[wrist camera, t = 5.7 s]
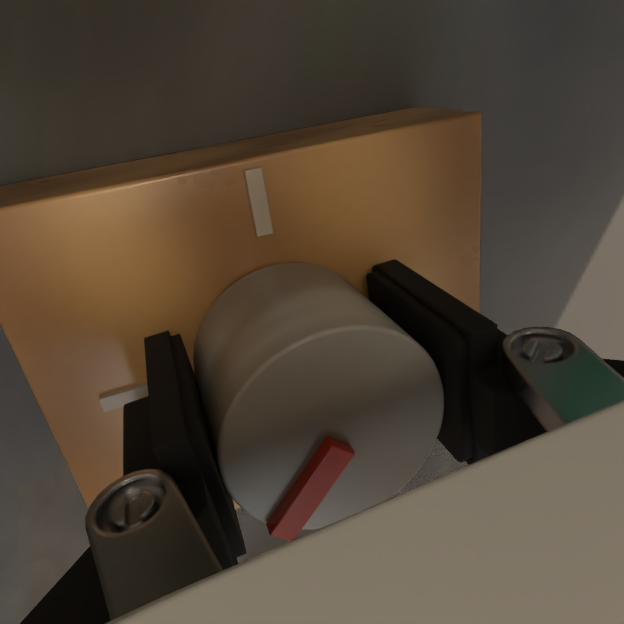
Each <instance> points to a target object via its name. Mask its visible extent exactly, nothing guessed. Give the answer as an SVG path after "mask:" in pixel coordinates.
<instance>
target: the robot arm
mask: <svg viewBox="0 0 624 624" xmlns="http://www.w3.org/2000/svg"><path fill="white" fill-rule="evenodd" d="M366 281H367V288H368V295H369V300H370V301H371V302H372V303H373V304H374V305H376V306H377V307H378V308H379V309H380V310H381V311H382V312H383V313H385V314H386V315H387V316H388V317H389V318H390V319H391V320H393V321H394V322H395V323H396V324H397V325H398V326H399V327H401V328H402V329H403V330H404V331H405V332H406V333H407V334H408V335H410V336H411V337H412V338H413V339H414V340H415V341H416V342H418V343H419V344H420V345H421V346H422V347H423V348H424V349H425V350H426V351H427V352H428V354H429V355H430V357H431V358H432V359H433V361H434V363H435V365H436V367H437V369H438V371H439V374H440V377H441V380H442V384H443V390H444V414H443V420H442V424H441V428H440V432H439V434H438V437H437V438H438V440H439V441H440V442H441V443H442V444H443V445H444V446H445V447H446V449H447V450H448V451H449V452H450V453H451V454H452V455H453V457H454V458H455V459H456V460H457V461H459V462H463V461H466V462H467V463H468V464H469V465H467V466H465V467H463V468H460V469H458V470H456V471H453V472H451V473H448V474H446V475H444V476H441V477H439V478H437V479H434V480H432V481H430V482H427V483H425V484H423V485H420V486H418V487H416V488H413V489H411V490H409V491H406V492H404V493H402V494H399V495H397V496H395V497H392V498H390V499H387V500H385V501H383V502H380V503H378V504H376V505H373V506H371V507H369V508H366V509H364V510H362V511H359V512H357V513H355V514H353V515H350V516H348V517H346V518H343V519H341V520H339V521H336V522H334V523H332V524H329V525H327V526H325V527H322V528H320V529H318V530H316V531H313V532H311V533H309V534H306V535H304V536H302V537H299V538H297V539H295V540H292V541H290V542H288V543H285V544H283V545H281V546H279V547H276V548H274V549H272V550H269V551H267V552H265V553H262V554H260V555H258V556H255V557H253V558H251V559H248V560H246V561H244V562H242V563H239V564H238V561H237V557H239V556H241V555H244V554H246V549H245V545H244V541H243V537H242V533H241V530H240V526H239V522H238V518H237V514H236V510H235V507H234V503H233V499H232V498H231V496H230V495H229V493H228V492H227V490H226V488H225V486H224V484H223V482H222V480H221V477H220V473H219V469H218V465H217V461H216V457H215V453H214V449H213V445H212V441H211V437H210V433H209V429H208V424H207V420H206V416H205V412H204V408H203V404H202V400H201V396H200V392H199V388H198V384H197V380H196V378H195V375H194V372H193V369H192V366H191V363H190V361H189V358H188V355H187V352H186V349H185V347H184V344H183V341H182V338H181V336H180V334H176V335H173V336H171V335H170V333H169V331H165V332H161V333H158V334H155V335H152V336H149V337H146V338H144V347H145V360H146V372H147V385H148V396H147V397H144V398H141V399H138V400H135V401H132V402H129V403H126V404H125V405H124V407H123V477H120V478H119V479H117V480H116V481H114V482H113V483H111V484H110V485H108V486H107V487H106V488H105V489H104V490H103V491H102V492H101V493H99V494H98V495H97V497H96V498H95V500H94V501H93V502H92V504H91V505H90V507H89V509H88V512H87V515H86V517H85V522H86V531H87V535H88V539H89V542H90V547H89V548H88V549H87V550H86V551H85V552H84V553H83V555H82V556H81V557H80V558H79V559H78V560H77V561H76V562H75V563H74V565H73V566H72V567H71V568H70V569H69V570H68V571H67V572H66V573H65V574H64V576H63V577H62V578H61V579H60V580H59V581H58V582H57V583H56V584H55V586H54V587H53V588H52V589H51V590H50V591H49V592H48V593H47V594H46V595H45V597H44V598H43V599H42V600H41V601H40V602H39V603H38V604H37V605H36V607H35V608H34V609H33V610H32V611H31V612H30V613H29V614H28V615H27V616H26V618H25V619H24V620H23V621H22V622H21V623H20V624H624V361H620V360H610V359H602V358H600V357H599V356H598V355H597V354H596V353H595V352H594V351H593V350H591V349H590V348H589V347H588V346H587V345H586V344H585V343H583V342H582V341H581V340H580V339H579V338H577V337H576V336H574V335H573V334H571V333H569V332H566V331H564V330H561V329H556V328H551V327H529V328H523V329H520V330H517V331H514V332H512V333H511V334H509V335H506V334H504V333H503V332H501V331H500V330H498V329H497V324H495V323H494V322H492V321H491V320H489V319H488V318H486V317H484V316H483V315H481V314H480V313H478V312H477V311H475V310H474V309H472V308H470V307H469V306H467V305H466V304H464V303H463V302H461V301H460V300H458V299H457V298H455V297H453V296H452V295H450V294H449V293H447V292H446V291H444V290H443V289H441V288H440V287H438V286H436V285H435V284H433V283H432V282H430V281H429V280H427V279H426V278H424V277H422V276H421V275H419V274H418V273H416V272H415V271H413V270H412V269H410V268H409V267H407V266H405V265H404V264H402V263H401V262H399V261H398V260H396V259H393V260H390V261H387V262H384V263H380V264H377V265H374V266H373V267H372V272H371V273H368V274H367V276H366Z"/></svg>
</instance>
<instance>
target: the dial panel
mask: <svg viewBox="0 0 624 624" xmlns="http://www.w3.org/2000/svg"><path fill="white" fill-rule="evenodd" d="M481 159H482V114H481V113H480V112H476V111H463V110H450V109H437V108H424V107H413V108H408V109H402V110H397V111H392V112H387V113H381V114H376V115H371V116H366V117H360V118H355V119H350V120H345V121H339V122H334V123H329V124H324V125H318V126H313V127H308V128H303V129H297V130H292V131H287V132H282V133H276V134H271V135H266V136H261V137H255V138H250V139H245V140H240V141H234V142H229V143H224V144H219V145H213V146H208V147H203V148H198V149H192V150H187V151H182V152H177V153H171V154H166V155H161V156H156V157H150V158H145V159H140V160H135V161H129V162H124V163H119V164H114V165H108V166H103V167H98V168H93V169H87V170H82V171H77V172H72V173H66V174H61V175H56V176H51V177H45V178H40V179H35V180H30V181H24V182H19V183H14V184H8V185H3V186H0V324H1V326H2V328H3V330H4V332H5V334H6V337H7V339H8V341H9V343H10V345H11V347H12V349H13V351H14V353H15V355H16V358H17V360H18V362H19V364H20V366H21V368H22V370H23V372H24V374H25V376H26V378H27V381H28V383H29V385H30V387H31V389H32V391H33V393H34V395H35V397H36V399H37V402H38V404H39V406H40V408H41V410H42V412H43V414H44V416H45V418H46V420H47V422H48V425H49V427H50V429H51V431H52V433H53V435H54V437H55V439H56V441H57V443H58V445H59V448H60V450H61V452H62V454H63V456H64V458H65V460H66V462H67V464H68V466H69V469H70V471H71V473H72V475H73V477H74V479H75V481H76V483H77V485H78V487H79V489H80V492H81V494H82V496H83V498H84V500H85V502H86V504H87V506H88V508H89V507H90V505H91V504H92V502H93V501H94V500H95V498H96V497H97V495H98V494H99V493H101V492H102V491H103V490H104V489H105V488H106V487H107V486H108V485H110V484H111V483H113V482H114V481H116V480H117V479H119V478H120V477H123V407H124V405H125V404H126V403H129V402H132V401H135V400H138V399H141V398H144V397H147V396H148V385H147V372H146V360H145V347H144V338H146V337H149V336H152V335H155V334H158V333H161V332H165V331H169V333H170V335H171V336H173V335H176V334H180V336H181V338H182V341H183V344H184V347H185V349H186V352H187V355H188V358H189V361H190V363H191V366H192V369H193V372H194V375H195V371H194V363H193V353H194V344H195V339H196V335H197V332H198V329H199V327H200V324H201V322H202V320H203V318H204V316H205V314H206V313H207V311H208V310H209V308H210V307H211V306H212V304H213V303H214V302H215V300H216V299H217V298H218V297H219V296H220V295H221V294H222V293H223V292H224V291H225V290H226V289H228V288H229V287H230V286H231V285H232V284H234V283H235V282H237V281H238V280H240V279H241V278H243V277H244V276H246V275H248V274H250V273H252V272H254V271H257V270H259V269H262V268H265V267H268V266H272V265H277V264H283V263H307V264H313V265H318V266H321V267H324V268H327V269H329V270H331V271H333V272H335V273H337V274H339V275H340V276H342V277H343V278H345V279H346V280H347V281H348V282H349V283H351V284H352V285H353V286H354V287H355V288H356V289H357V290H358V291H360V292H361V293H362V294H363V295H364V296H365V297H366V298H368V299H369V295H368V288H367V281H366V276H367V274H368V273H371V272H372V267H373V266H374V265H377V264H380V263H384V262H387V261H390V260H393V259H396V260H398V261H399V262H401V263H402V264H404V265H405V266H407V267H409V268H410V269H412V270H413V271H415V272H416V273H418V274H419V275H421V276H422V277H424V278H426V279H427V280H429V281H430V282H432V283H433V284H435V285H436V286H438V287H440V288H441V289H443V290H444V291H446V292H447V293H449V294H450V295H452V296H453V297H455V298H457V299H458V300H460V301H461V302H463V303H464V304H466V305H467V306H469V307H470V308H472V309H474V310H475V311H477V312H478V313H479V298H480V229H481ZM195 378H196V375H195ZM233 503H234V507H235V510H236V509H239V508H241V507H240V506H239V505H238V504H237V503H236V502H235V501H234V500H233Z"/></svg>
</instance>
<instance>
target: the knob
mask: <svg viewBox="0 0 624 624" xmlns="http://www.w3.org/2000/svg"><path fill="white" fill-rule="evenodd" d="M193 363H194V371H195V375H196V380H197V384H198V388H199V392H200V396H201V400H202V404H203V408H204V412H205V416H206V420H207V424H208V429H209V433H210V437H211V441H212V445H213V449H214V453H215V457H216V461H217V465H218V469H219V473H220V477H221V480H222V482H223V484H224V486H225V488H226V490H227V492H228V493H229V495H230V496H231V498H232V499H233V500H234V501H235V502H236V503H237V504H238V505H239V506H240V507H241V508H242V509H243V510H244V511H246V512H247V513H248V514H250V515H251V516H253V517H254V518H256V519H258V520H260V521H262V522H264V523H267V524H266V525H267V528H268V531H269V534H270V535H271V536H274V537H279V538H283V539H287V540H291V541H292V540H295V538H296V537H297V536H298V534H299V533H300V531H301V530H302V529H317V528H322V527H325V526H327V525H329V524H332V523H334V522H336V521H339V520H341V519H343V518H346V517H348V516H350V515H353V514H355V513H357V512H359V511H362V510H364V509H366V508H369V507H371V506H373V505H376V504H378V503H380V502H383V501H385V500H387V499H389V498H391V497H392V496H393V495H394V494H396V493H397V492H398V491H399V490H400V489H401V488H403V487H404V486H405V485H406V484H407V482H408V481H409V480H410V479H411V478H412V477H413V476H414V475H415V474H416V472H417V471H418V470H419V469H420V468H421V466H422V465H423V463H424V462H425V460H426V459H427V457H428V456H429V454H430V452H431V450H432V448H433V446H434V444H435V442H436V439H437V437H438V434H439V432H440V428H441V424H442V420H443V414H444V390H443V384H442V380H441V377H440V374H439V371H438V369H437V367H436V365H435V363H434V361H433V359H432V358H431V357H430V355H429V354H428V352H427V351H426V350H425V349H424V348H423V347H422V346H421V345H420V344H419V343H418V342H416V341H415V340H414V339H413V338H412V337H411V336H410V335H408V334H407V333H406V332H405V331H404V330H403V329H402V328H401V327H399V326H398V325H397V324H396V323H395V322H394V321H393V320H391V319H390V318H389V317H388V316H387V315H386V314H385V313H383V312H382V311H381V310H380V309H379V308H378V307H377V306H376V305H374V304H373V303H372V302H371V301H370V300H369V299H368V298H366V297H365V296H364V295H363V294H362V293H361V292H360V291H358V290H357V289H356V288H355V287H354V286H353V285H352V284H351V283H349V282H348V281H347V280H346V279H345V278H343V277H342V276H340V275H339V274H337V273H335V272H333V271H331V270H329V269H327V268H324V267H321V266H318V265H313V264H307V263H283V264H277V265H272V266H268V267H265V268H262V269H259V270H257V271H254V272H252V273H250V274H248V275H246V276H244V277H243V278H241V279H240V280H238V281H237V282H235V283H234V284H232V285H231V286H230V287H229V288H228V289H226V290H225V291H224V292H223V293H222V294H221V295H220V296H219V297H218V298H217V299H216V300H215V302H214V303H213V304H212V306H211V307H210V308H209V310H208V311H207V313H206V314H205V316H204V318H203V320H202V322H201V324H200V327H199V329H198V332H197V335H196V339H195V344H194V353H193Z"/></svg>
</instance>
